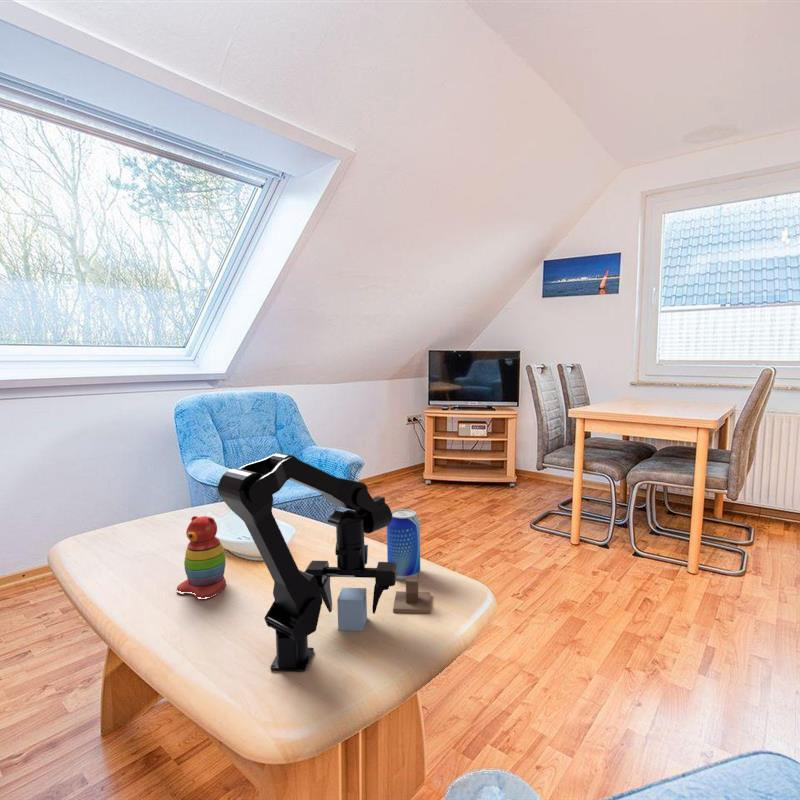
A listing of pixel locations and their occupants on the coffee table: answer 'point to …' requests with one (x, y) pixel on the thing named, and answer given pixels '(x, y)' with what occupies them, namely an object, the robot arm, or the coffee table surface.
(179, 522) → the coffee table surface
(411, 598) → the brown square stand
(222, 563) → the stacking bear
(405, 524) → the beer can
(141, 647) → the coffee table surface
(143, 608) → the coffee table surface
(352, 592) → the pale blue foam brick
